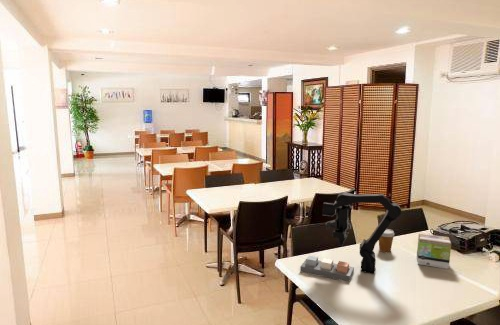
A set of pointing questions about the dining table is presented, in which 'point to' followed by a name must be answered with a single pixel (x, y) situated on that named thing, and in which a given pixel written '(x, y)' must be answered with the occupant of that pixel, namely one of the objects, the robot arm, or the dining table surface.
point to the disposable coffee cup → (386, 241)
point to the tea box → (433, 251)
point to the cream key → (327, 264)
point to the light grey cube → (312, 261)
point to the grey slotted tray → (327, 271)
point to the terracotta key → (343, 267)
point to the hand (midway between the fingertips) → (341, 245)
